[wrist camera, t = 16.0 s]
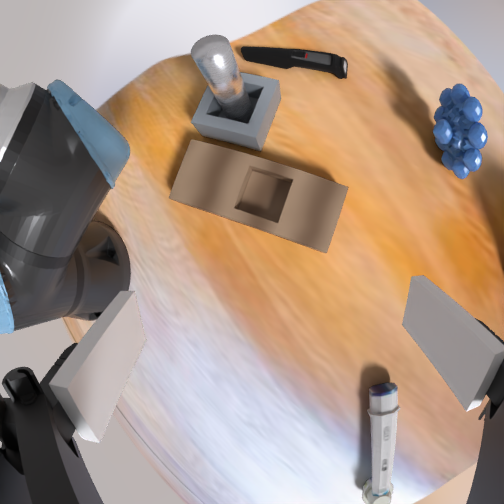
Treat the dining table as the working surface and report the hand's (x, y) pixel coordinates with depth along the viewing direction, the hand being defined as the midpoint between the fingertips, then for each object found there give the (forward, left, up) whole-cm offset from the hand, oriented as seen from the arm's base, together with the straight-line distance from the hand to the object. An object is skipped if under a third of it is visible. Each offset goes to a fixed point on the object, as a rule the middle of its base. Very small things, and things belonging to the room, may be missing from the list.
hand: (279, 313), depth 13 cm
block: (-13, +18, -24) cm, 32 cm away
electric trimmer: (-8, +29, -24) cm, 39 cm away
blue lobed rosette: (+14, +24, -24) cm, 37 cm away
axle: (-13, +18, -23) cm, 32 cm away
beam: (-7, +8, -24) cm, 26 cm away
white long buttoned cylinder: (+24, -21, -24) cm, 40 cm away
